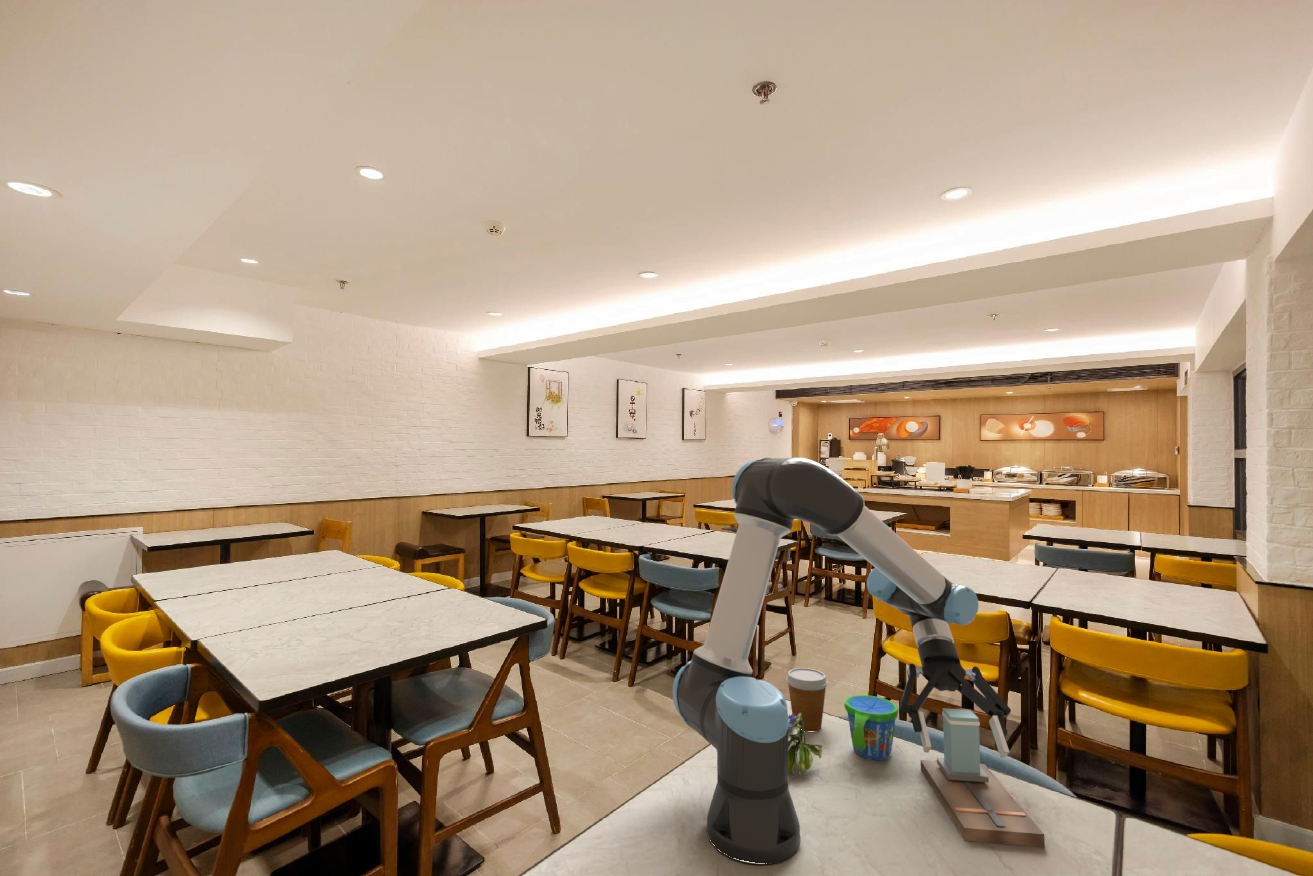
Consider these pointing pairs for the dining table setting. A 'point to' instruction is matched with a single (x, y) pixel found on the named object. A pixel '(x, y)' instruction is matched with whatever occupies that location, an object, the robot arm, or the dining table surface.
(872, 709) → the snack cup
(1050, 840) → the dining table surface
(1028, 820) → the fader track
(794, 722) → the passion flower
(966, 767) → the cap
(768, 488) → the robot arm
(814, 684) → the disposable coffee cup
